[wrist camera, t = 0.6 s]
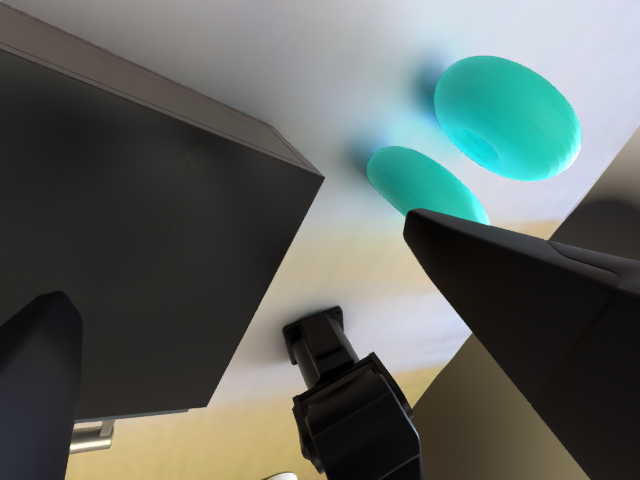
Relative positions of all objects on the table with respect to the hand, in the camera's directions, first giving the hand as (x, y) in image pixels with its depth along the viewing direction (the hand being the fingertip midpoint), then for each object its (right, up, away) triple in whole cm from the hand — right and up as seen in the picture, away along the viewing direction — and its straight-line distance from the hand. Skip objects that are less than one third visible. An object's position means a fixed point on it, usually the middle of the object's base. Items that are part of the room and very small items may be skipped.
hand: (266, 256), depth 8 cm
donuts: (+9, +9, +17) cm, 21 cm away
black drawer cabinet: (-11, +3, +11) cm, 16 cm away
